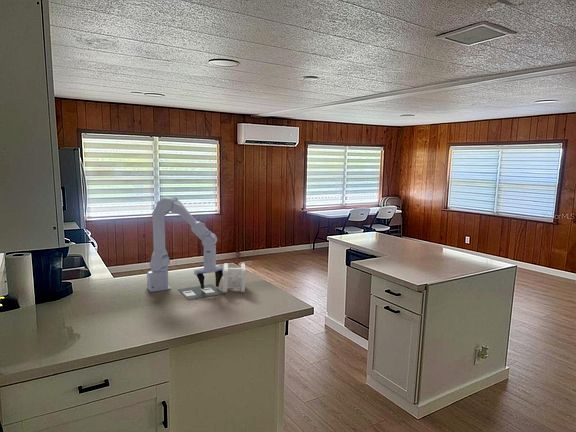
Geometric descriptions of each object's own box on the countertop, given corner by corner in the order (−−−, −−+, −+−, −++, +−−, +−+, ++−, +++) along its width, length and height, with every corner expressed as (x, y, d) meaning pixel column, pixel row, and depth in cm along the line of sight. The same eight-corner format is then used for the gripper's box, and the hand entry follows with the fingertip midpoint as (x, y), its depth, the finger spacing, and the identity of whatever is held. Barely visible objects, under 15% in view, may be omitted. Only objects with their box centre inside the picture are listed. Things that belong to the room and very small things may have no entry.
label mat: (188, 300, 173) (188, 299, 173) (177, 289, 186) (177, 289, 186) (224, 294, 181) (224, 293, 181) (211, 284, 195) (211, 284, 195)
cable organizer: (245, 295, 181) (246, 270, 179) (221, 294, 179) (222, 270, 177) (243, 285, 195) (244, 262, 194) (222, 284, 194) (223, 261, 192)
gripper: (197, 263, 177) (197, 292, 179) (227, 259, 184) (227, 287, 186) (192, 259, 183) (192, 287, 185) (221, 256, 190) (221, 283, 192)
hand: (209, 287), depth 186 cm, fingers open, 7 cm apart
